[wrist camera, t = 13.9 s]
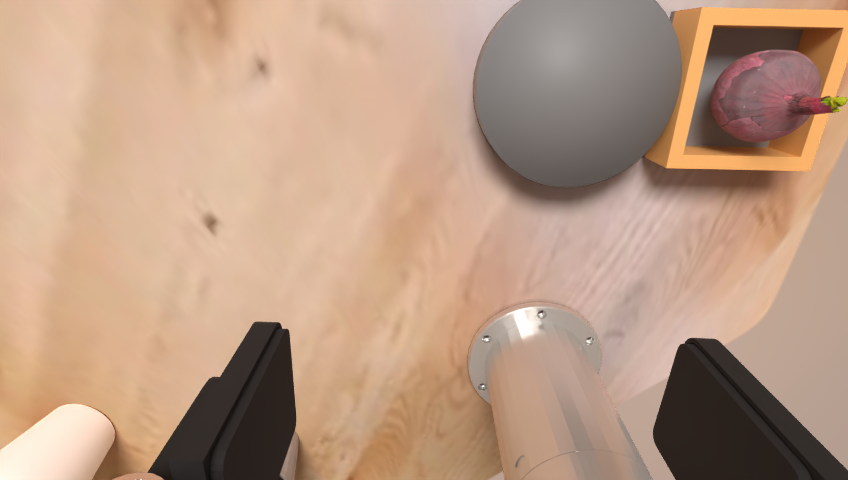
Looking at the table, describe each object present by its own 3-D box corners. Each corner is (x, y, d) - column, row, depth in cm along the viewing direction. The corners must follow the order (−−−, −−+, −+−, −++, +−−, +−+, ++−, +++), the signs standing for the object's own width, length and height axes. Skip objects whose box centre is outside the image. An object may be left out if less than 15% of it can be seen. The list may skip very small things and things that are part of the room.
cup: (144, 447, 50) (64, 561, 39) (73, 467, 51) (-24, 584, 40) (94, 383, 46) (-10, 488, 35) (20, 407, 48) (-103, 516, 37)
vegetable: (768, 124, 36) (885, 151, 27) (686, 139, 37) (774, 171, 27) (775, 40, 34) (907, 38, 25) (688, 58, 34) (785, 62, 25)
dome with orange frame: (765, 179, 38) (801, 194, 35) (467, 173, 38) (472, 187, 34) (825, -13, 33) (875, -21, 29) (479, -21, 33) (485, -29, 29)
